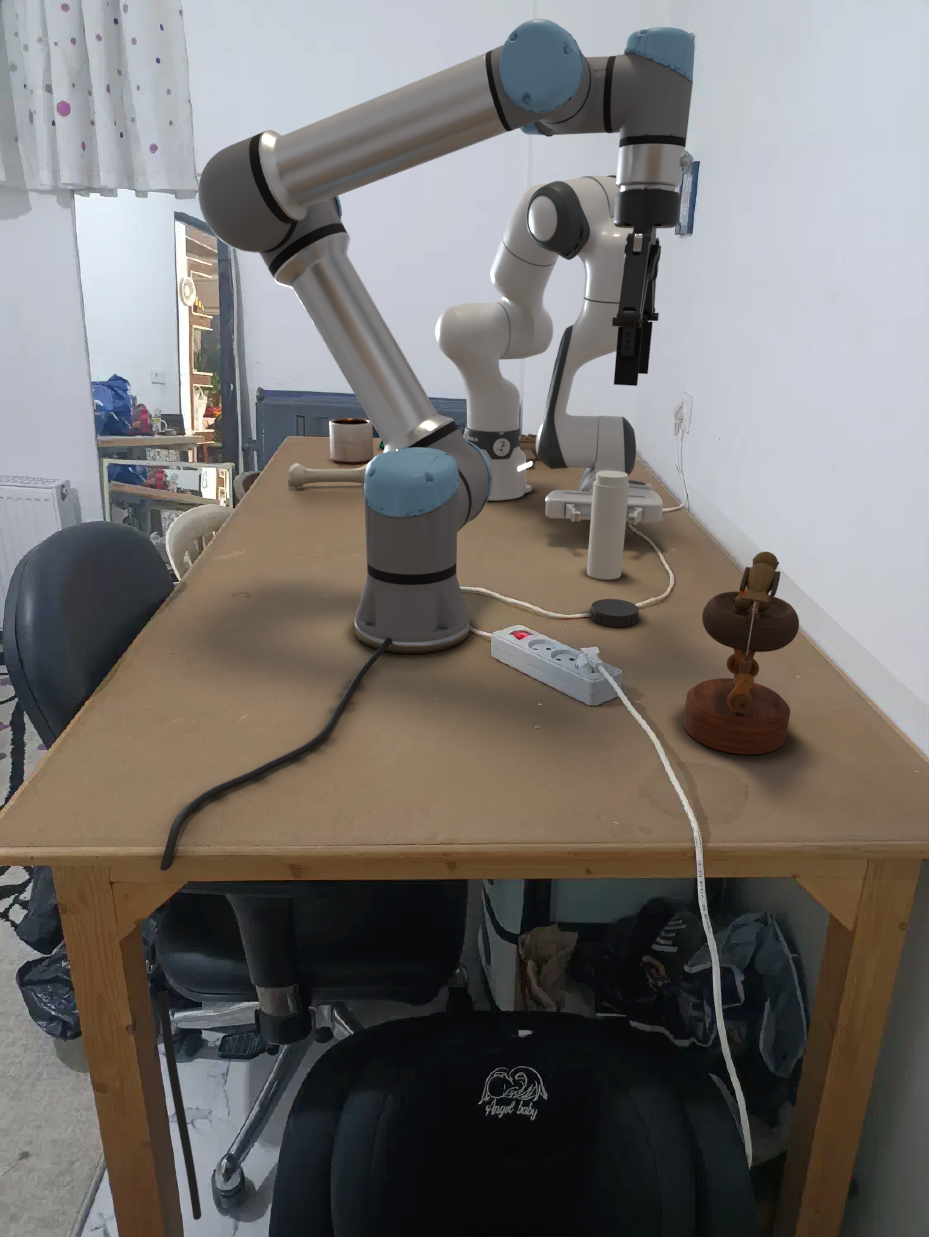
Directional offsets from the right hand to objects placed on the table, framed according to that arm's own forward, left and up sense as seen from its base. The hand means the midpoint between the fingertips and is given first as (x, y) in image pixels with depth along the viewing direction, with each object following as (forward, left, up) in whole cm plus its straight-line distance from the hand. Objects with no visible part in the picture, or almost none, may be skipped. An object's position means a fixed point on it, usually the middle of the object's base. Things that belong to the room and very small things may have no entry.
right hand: (604, 518), depth 142 cm
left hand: (+26, -11, +26) cm, 38 cm away
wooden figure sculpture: (+57, -13, -7) cm, 59 cm away
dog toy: (-61, -36, -7) cm, 71 cm away
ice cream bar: (-80, +18, -7) cm, 82 cm away
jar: (+8, -4, -7) cm, 11 cm away
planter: (-88, -26, -7) cm, 92 cm away
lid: (+26, -11, -5) cm, 29 cm away
